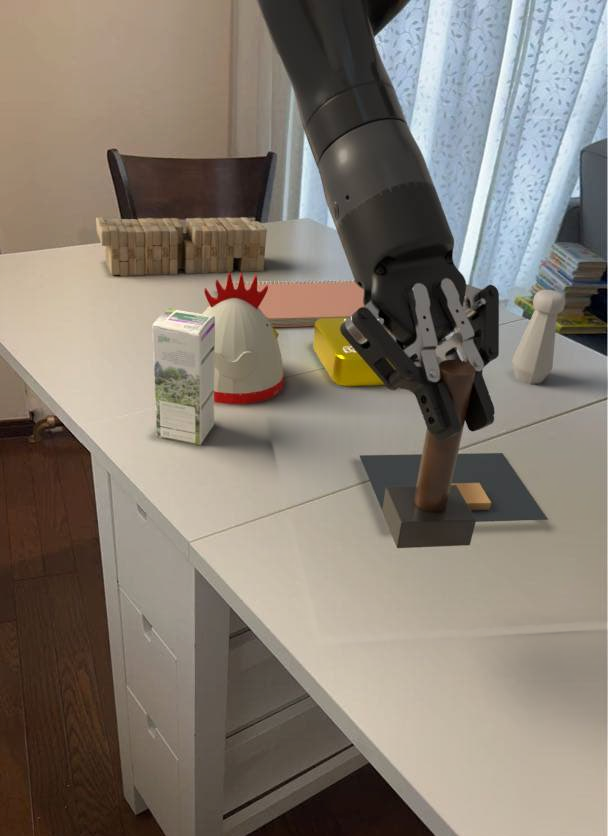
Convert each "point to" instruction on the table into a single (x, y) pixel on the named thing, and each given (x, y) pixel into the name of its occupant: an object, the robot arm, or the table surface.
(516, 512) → the board
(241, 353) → the kitchen timer
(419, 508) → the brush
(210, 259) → the block tower
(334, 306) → the notebook
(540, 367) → the salt shaker
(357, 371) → the element tile
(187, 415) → the syrup box
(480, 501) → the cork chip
